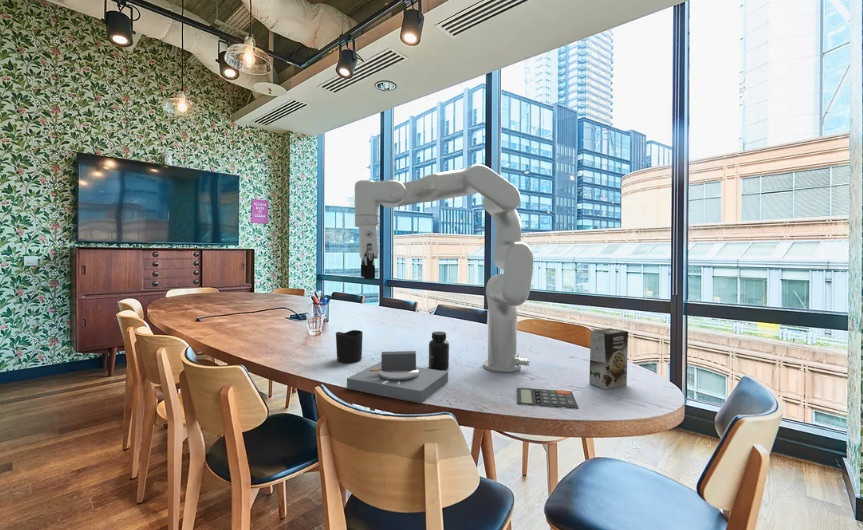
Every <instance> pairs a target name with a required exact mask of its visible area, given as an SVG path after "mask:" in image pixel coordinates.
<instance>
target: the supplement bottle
mask: <svg viewBox="0 0 863 530" xmlns="http://www.w3.org/2000/svg"><path fill="white" fill-rule="evenodd" d="M446 339H447V332H445V331H433V332H431V340H430V341H429V342H428V369H433V370H440V371H446V370H448V369H449V365H450V342H449V341H448V340H446Z"/></svg>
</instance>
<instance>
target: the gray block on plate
mask: <svg viewBox="0 0 863 530" xmlns="http://www.w3.org/2000/svg"><path fill="white" fill-rule="evenodd" d="M416 352H417V351H416V350H407V351H406V350H403V351H401V350H400V351H396V350H394V351H381V357H380V358H381V361H380V362H381V367H380V368H379V369H370V371H378V376H379V377H380V378H383V379H386V380H393V381H402V380H409V379H413V378H415V377H417V376H418V375H419V368H420V367H419V366H418V365H417V353H416Z"/></svg>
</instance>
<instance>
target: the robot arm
mask: <svg viewBox="0 0 863 530" xmlns="http://www.w3.org/2000/svg"><path fill="white" fill-rule="evenodd" d="M475 194H480V195H481V196H482V205H483V209H484V210H485V211H486V212H487V213H488V214H489V215H490V216H491V218H492V219H493V221H494V224H495V237H494V245H493V251H492V252H493V253H492V254H493V255H492V261H493V264H494V266H496V267H497V268H498V269H500V270H503V273H497V274H495V275H493V276H491V277H490V278H489V279H488V281H487V284H486V287H485V294H486V301H487V316H488V317H487V319H488V320H487V324H488V325H487V359H486V360H484V361H483V364H482V366H483V368H484V369H486V370H487V371H491V372H495V373H514V372H517V371H519V370H520V371H521V368H522V366H526V367H529V366H530V360H529V359H528V358H523V357H521V356H519V354H520V353H518V352H517V340H518V339H517V338H518V337H517V336H518V335H517V333H518V331H517V329H518V325H517V324H518V321H517V319H518V315H517V306H521V305H523V304H524V303H525V302H527V300H528V298H529V296H530V293H531V286H532V278H533V270H534V254H533V251H532V249H531V248H530V246H529V245H528V244H527V243H525V242H523V241H522V221H521V217H520V215H519V213H518V211H517V210H516V209H518V207H519V206H520V205H521V200H522V199H521V193H520V191H519V190H518V188H517V187H516V186H515V185H514V184H512V183H511V182H510V181H508V180H507V179H505V178H504V177H503V176H501V175H500V174H498V173H497V172H496V171H494V170H493V169H491V168H489V167H488V166H486V165H484V164H480V163H476V164H473V165H470V166H469V167H467V168H466V167H465V168H462V169H455V170H449V171H440V172H433V173H430V174H427V175H425V176H423V177H420V178H418V179H415V180H414V179H413V180H410V181H405V182H401V181H399V180H395V179H389V180H376V181H375V180H370V179H364V180H357V181H356V182H355V184H354V227H356V228H358V247H359V250H358V251H359V258H360V259H361V264H360V277H361V278H363V279H364V280H375V279H376V265H375V264H376V263H375V260H378V259H379V238H378V228H380V227H381V226H380V225H381V221H380V220H381V215H380V214H381V210H380V209H381V208H380V207H381V206H380V205H382V206H383V207H385V208H389V209H392V208H398V207H404V206H411V205H416V204H422V203H430V202H435V201H441V200H442V201H443V200H448V199H453V198H459V197H466V196H472V195H475Z"/></svg>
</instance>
